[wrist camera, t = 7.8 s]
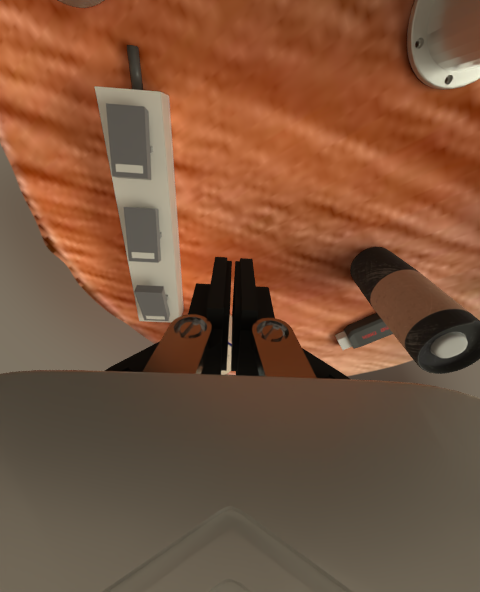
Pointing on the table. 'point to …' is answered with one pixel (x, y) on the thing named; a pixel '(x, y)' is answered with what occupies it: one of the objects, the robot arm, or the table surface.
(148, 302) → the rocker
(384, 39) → the table surface
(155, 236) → the rocker middle
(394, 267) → the travel mug
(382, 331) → the usb drive
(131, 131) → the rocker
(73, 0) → the planter
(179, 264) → the power strip
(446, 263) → the table surface
